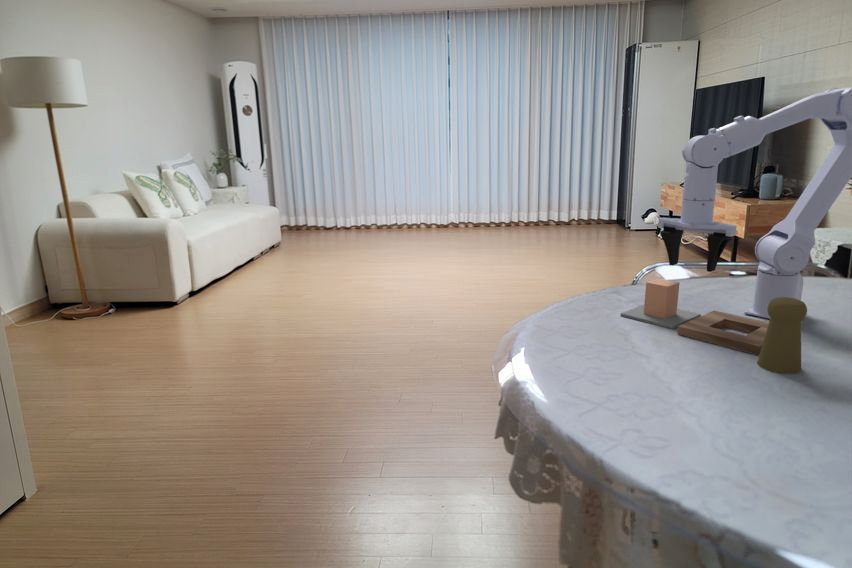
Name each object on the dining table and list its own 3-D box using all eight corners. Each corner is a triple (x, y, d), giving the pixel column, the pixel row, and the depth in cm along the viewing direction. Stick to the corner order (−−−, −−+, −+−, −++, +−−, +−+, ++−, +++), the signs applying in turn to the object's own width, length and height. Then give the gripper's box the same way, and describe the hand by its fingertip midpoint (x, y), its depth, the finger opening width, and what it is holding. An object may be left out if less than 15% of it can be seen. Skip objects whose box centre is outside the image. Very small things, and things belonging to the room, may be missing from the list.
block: (655, 309, 121) (658, 278, 120) (676, 314, 118) (679, 282, 116) (643, 313, 119) (646, 282, 117) (664, 318, 115) (667, 286, 114)
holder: (713, 317, 117) (713, 310, 117) (791, 335, 107) (792, 327, 106) (677, 333, 108) (678, 326, 108) (758, 354, 98) (759, 346, 97)
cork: (808, 374, 90) (818, 305, 87) (764, 372, 91) (773, 303, 88) (792, 359, 96) (802, 294, 93) (751, 357, 97) (760, 293, 94)
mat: (649, 304, 126) (649, 302, 126) (700, 316, 118) (700, 314, 118) (620, 315, 119) (620, 313, 119) (672, 328, 111) (672, 326, 111)
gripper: (652, 198, 117) (647, 264, 121) (727, 204, 107) (719, 277, 110) (670, 195, 122) (665, 259, 125) (744, 200, 111) (736, 271, 114)
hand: (691, 267), depth 118 cm, fingers open, 7 cm apart
